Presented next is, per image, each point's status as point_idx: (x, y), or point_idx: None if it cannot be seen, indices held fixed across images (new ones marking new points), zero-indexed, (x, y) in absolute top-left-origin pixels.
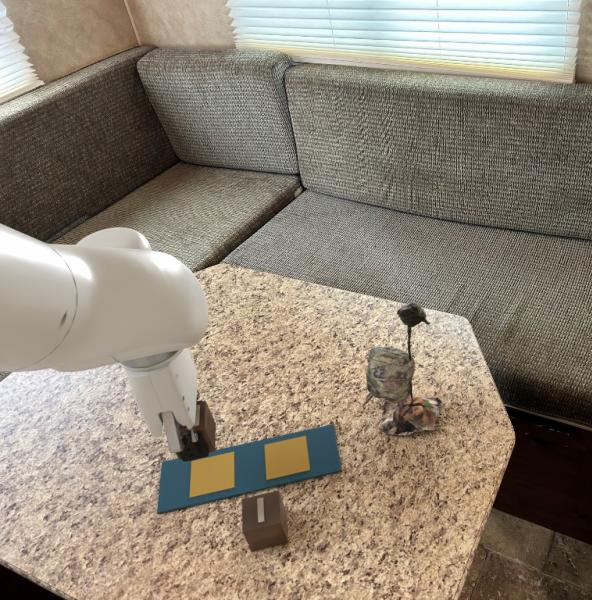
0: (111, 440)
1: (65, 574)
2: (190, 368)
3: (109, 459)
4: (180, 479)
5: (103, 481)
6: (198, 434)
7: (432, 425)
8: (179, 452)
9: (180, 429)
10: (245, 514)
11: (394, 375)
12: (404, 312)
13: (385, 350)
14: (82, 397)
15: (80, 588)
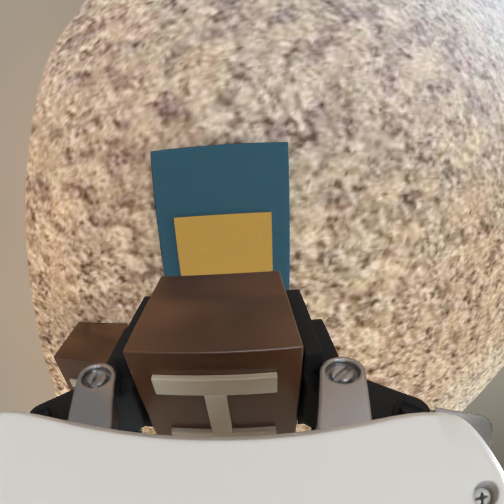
0: (373, 36)
1: (80, 25)
2: None
3: (324, 31)
4: (226, 190)
5: (267, 24)
6: (149, 423)
7: None
8: (132, 323)
9: (160, 395)
10: (79, 364)
11: None
12: None
13: None
14: (464, 11)
15: (51, 59)
